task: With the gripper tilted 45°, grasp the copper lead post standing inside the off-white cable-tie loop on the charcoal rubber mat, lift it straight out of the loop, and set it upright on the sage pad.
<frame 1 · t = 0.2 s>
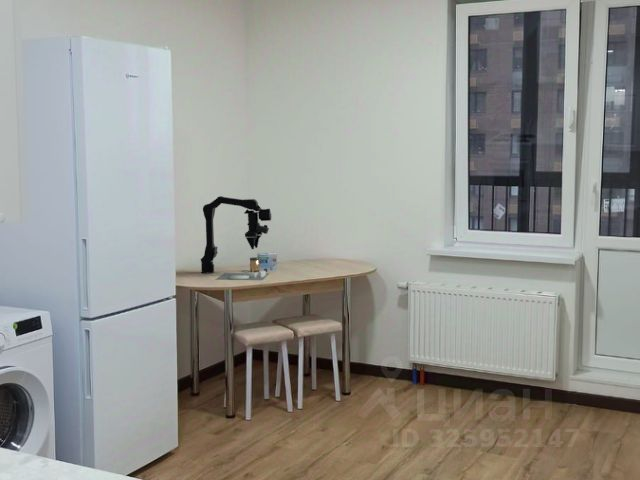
hand: (254, 248, 441), 14 cm above the table, tool pointing down, fingers open, 9 cm apart
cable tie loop: (254, 276, 430), resting on charcoal mat
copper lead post: (254, 275, 430), resting on charcoal mat
charcoal mat: (243, 277, 428), on the table
sage pad: (239, 279, 422), resting on charcoal mat
light bulb box: (267, 272, 449), on the table
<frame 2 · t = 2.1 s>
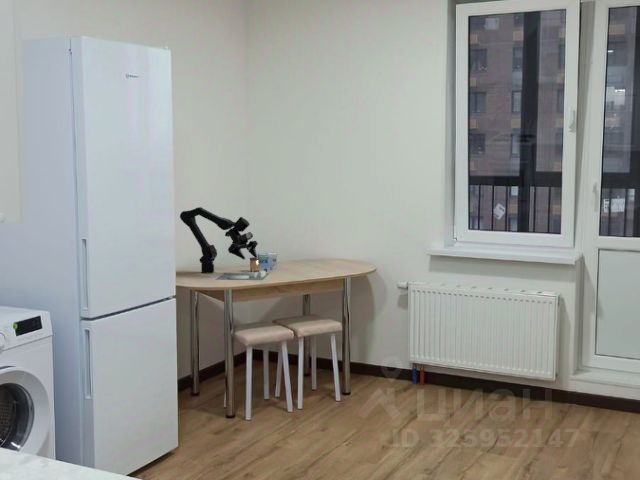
hand: (250, 258, 431), 10 cm above the table, tool tilted 45°, fingers open, 9 cm apart
nothing on the table moved.
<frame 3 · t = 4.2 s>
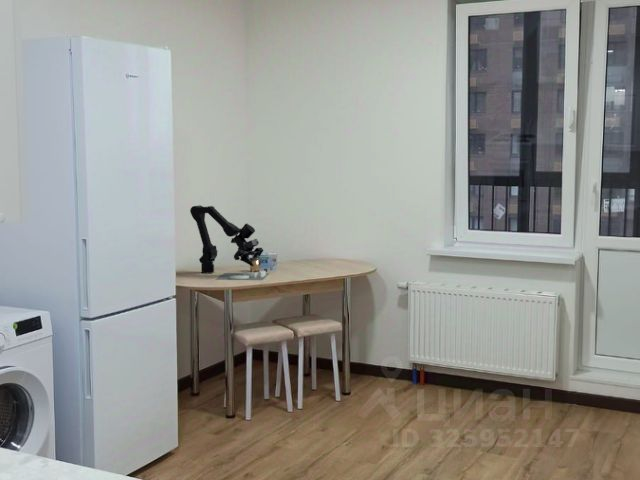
hand: (256, 265, 429), 7 cm above the table, tool tilted 45°, fingers closed on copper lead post, 5 cm apart
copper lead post: (254, 275, 430), point 1 cm above the table, touching charcoal mat, gripper
everything else where it was.
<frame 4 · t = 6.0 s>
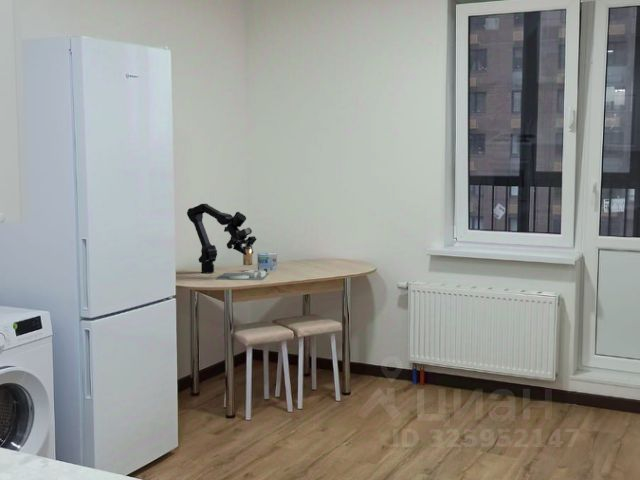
hand: (249, 253, 425), 13 cm above the table, tool tilted 45°, fingers closed on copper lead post, 5 cm apart
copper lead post: (247, 264, 426), point 7 cm above the table, touching gripper
everything else where it was.
when the fingers open (9 cm above the table, at t = 8.1 s): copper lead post drops 1 cm, resting on sage pad.
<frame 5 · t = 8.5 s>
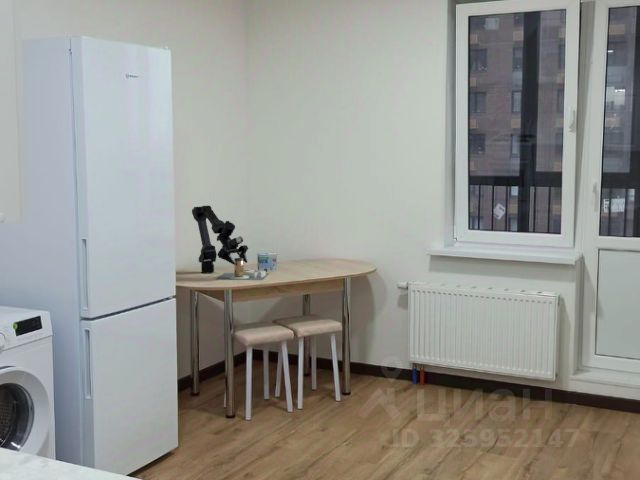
hand: (240, 263, 420), 9 cm above the table, tool tilted 45°, fingers open, 9 cm apart
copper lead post: (239, 276, 422), point 1 cm above the table, touching sage pad
everything else where it was.
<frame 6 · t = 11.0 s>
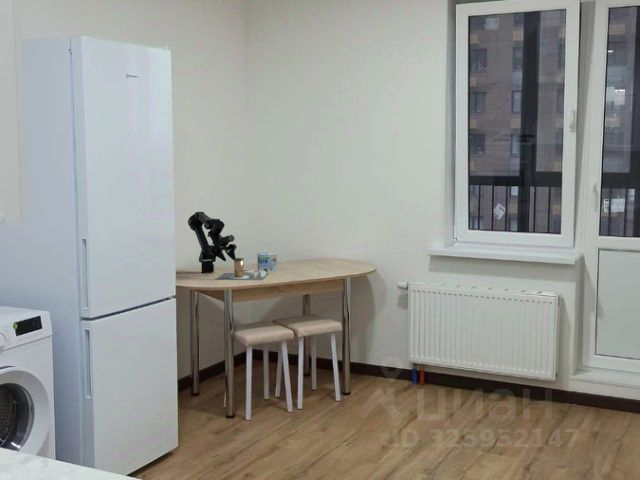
hand: (230, 260, 428), 9 cm above the table, tool tilted 40°, fingers open, 9 cm apart
nothing on the table moved.
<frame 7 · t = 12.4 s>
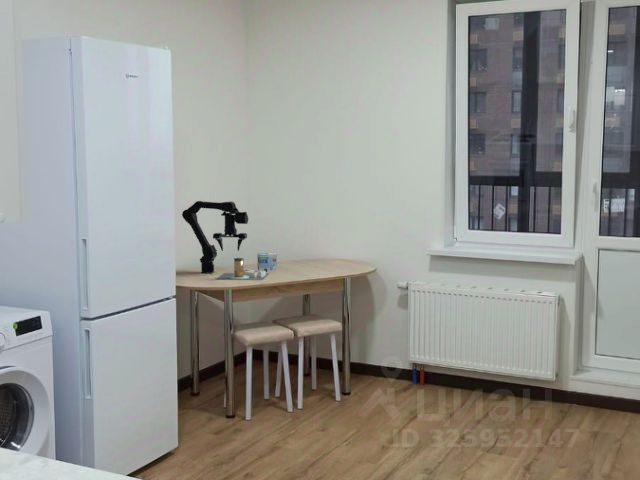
hand: (230, 250, 441), 13 cm above the table, tool pointing down, fingers open, 9 cm apart
nothing on the table moved.
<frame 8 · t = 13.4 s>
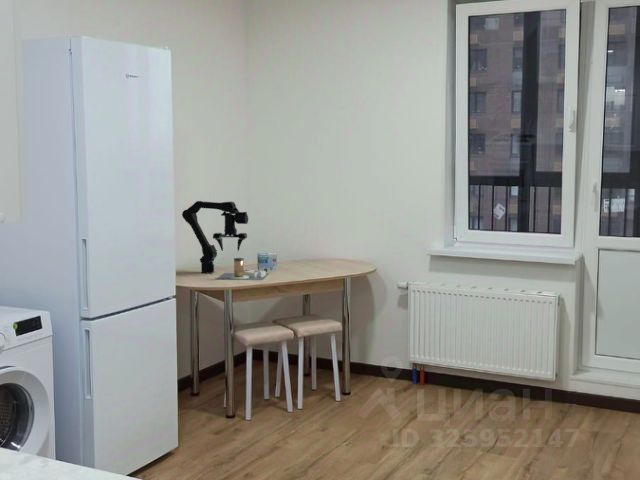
hand: (230, 250, 441), 13 cm above the table, tool pointing down, fingers open, 9 cm apart
nothing on the table moved.
at the end: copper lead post 0.0 cm from the target spot, point 1.3 cm above the table; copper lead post tilted 0°; the gripper is holding nothing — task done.
